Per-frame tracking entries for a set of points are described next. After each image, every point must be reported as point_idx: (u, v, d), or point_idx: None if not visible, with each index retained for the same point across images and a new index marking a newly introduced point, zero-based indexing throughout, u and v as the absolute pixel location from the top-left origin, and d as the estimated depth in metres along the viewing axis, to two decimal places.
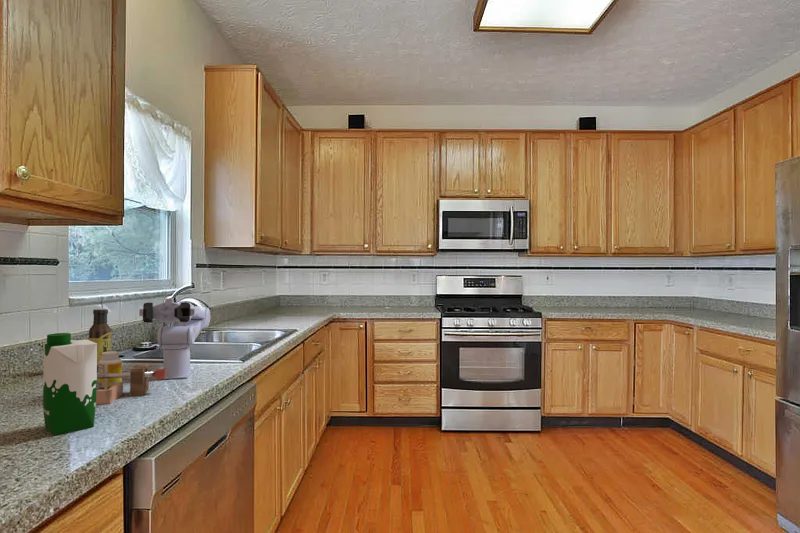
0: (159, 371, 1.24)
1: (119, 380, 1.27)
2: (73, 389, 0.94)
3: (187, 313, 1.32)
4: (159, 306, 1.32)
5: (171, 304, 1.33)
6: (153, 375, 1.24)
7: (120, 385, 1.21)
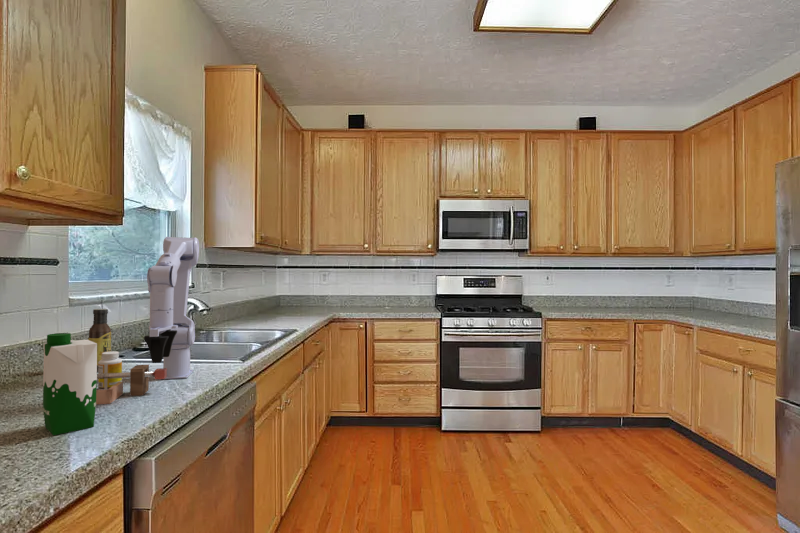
0: (159, 371, 1.24)
1: (119, 380, 1.27)
2: (73, 389, 0.94)
3: None
4: (165, 329, 1.23)
5: None
6: (153, 375, 1.24)
7: (120, 385, 1.21)
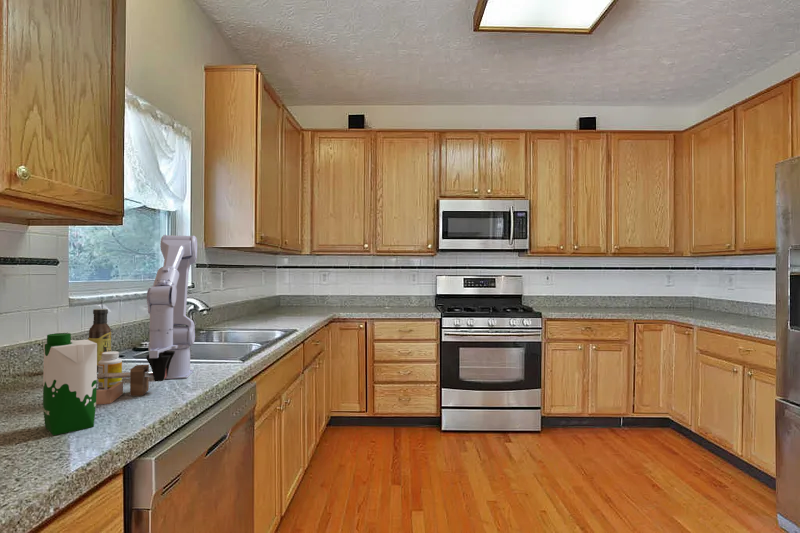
0: None
1: (119, 380, 1.27)
2: (73, 389, 0.94)
3: None
4: None
5: None
6: None
7: (120, 385, 1.21)
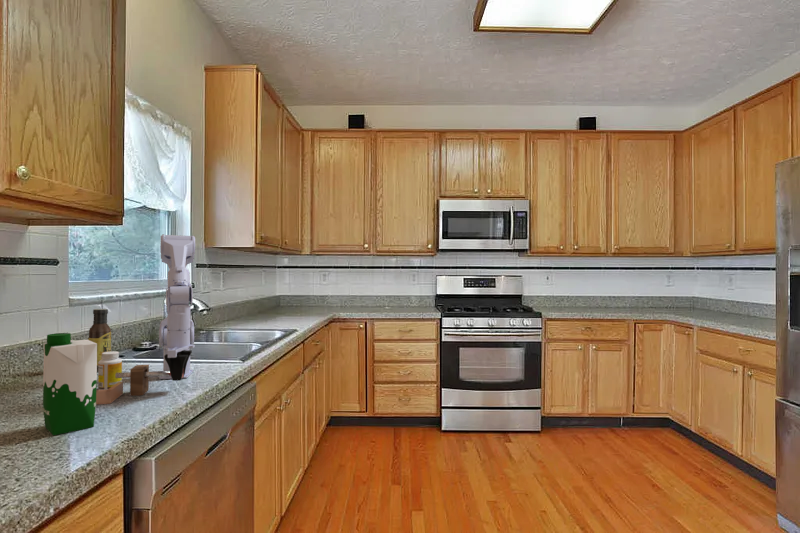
0: None
1: (119, 380, 1.27)
2: (73, 389, 0.94)
3: None
4: (183, 349, 1.24)
5: None
6: (170, 374, 1.25)
7: (120, 385, 1.21)
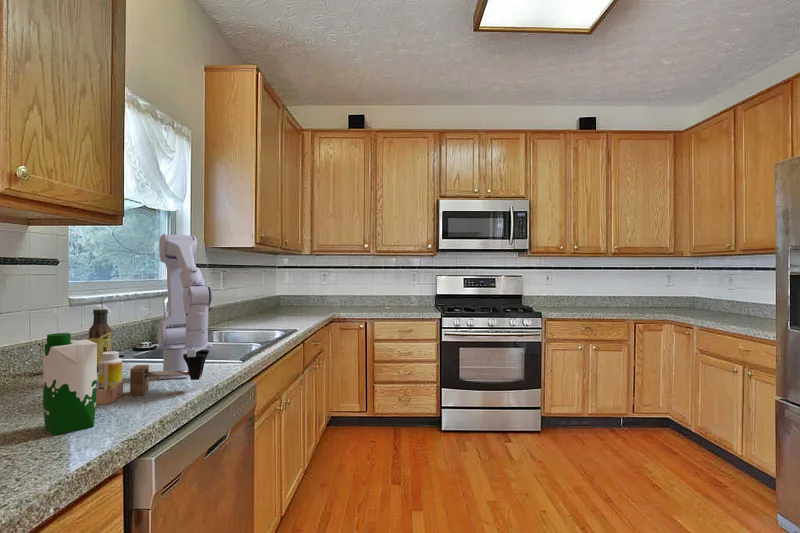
0: None
1: (119, 380, 1.27)
2: (73, 389, 0.94)
3: None
4: None
5: None
6: None
7: (120, 385, 1.21)
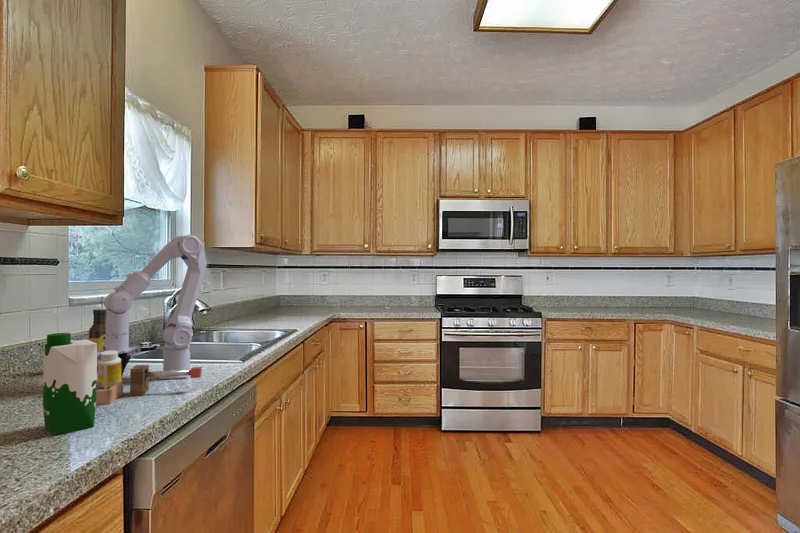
0: (195, 370, 1.26)
1: (119, 380, 1.26)
2: (73, 389, 0.94)
3: None
4: None
5: None
6: (189, 374, 1.26)
7: (120, 385, 1.21)
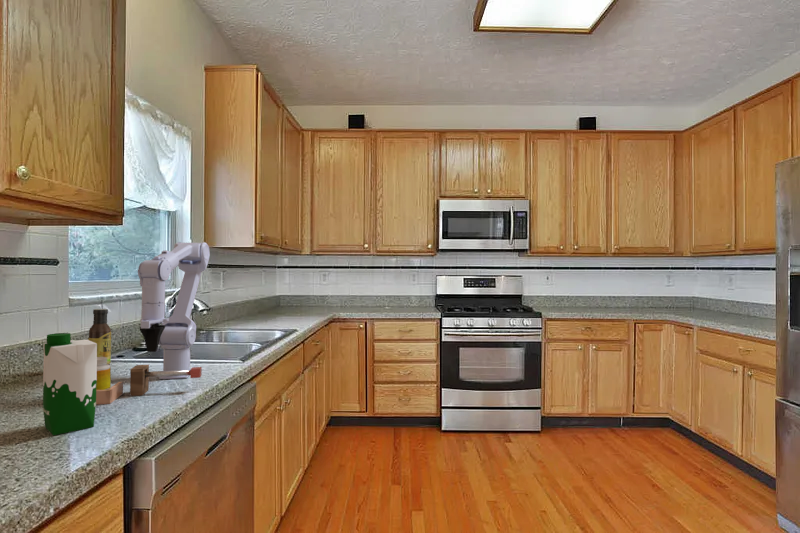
0: (195, 370, 1.26)
1: (107, 388, 1.18)
2: (73, 389, 0.94)
3: None
4: None
5: None
6: (189, 374, 1.26)
7: (120, 385, 1.21)
